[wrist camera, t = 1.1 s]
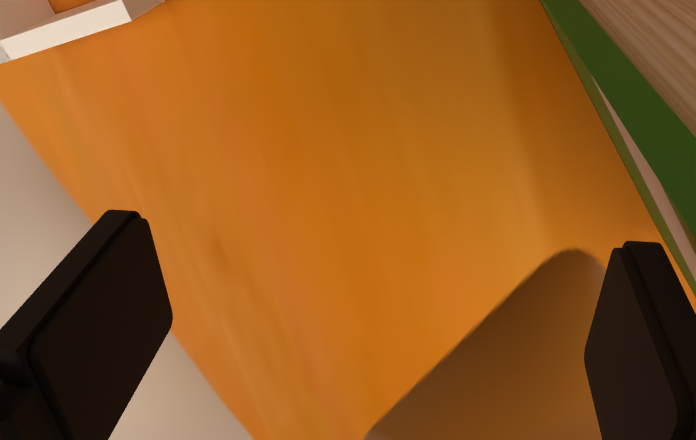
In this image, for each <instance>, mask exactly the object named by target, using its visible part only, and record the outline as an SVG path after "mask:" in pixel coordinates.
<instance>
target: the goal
mask: <svg viewBox="0 0 696 440" xmlns="http://www.w3.org/2000/svg"><path fill="white" fill-rule="evenodd" d="M164 1H166V0H96V1H93V2H90V3H87V4H84V5H81V6H78V7H76V8H73V9H70V10H67V11H64V12H61V13H58V14H55V12H54V11H53V9H52V7H51V5H50V3H49V2H48V0H0V64H1V63H4V62H7V61H10V60H14V59H17V58H20V57H23V56H26V55H29V54H32V53H35V52H38V51H41V50H44V49H47V48H50V47H53V46H57V45H60V44H63V43H66V42H69V41H72V40H75V39H78V38H81V37H84V36H87V35H90V34H93V33H96V32H100V31H103V30H106V29H109V28H112V27H115V26H118V25H121V24H124V23H127V22H130V21H133V20H134V19H136V18H138V17H139V16H141V15H142V14H144V13H146V12H147V11H149V10H151V9H152V8H154V7H156V6H157V5H159V4H161V3H162V2H164Z"/></svg>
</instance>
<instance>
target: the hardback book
mask: <svg viewBox="0 0 696 440" xmlns="http://www.w3.org/2000/svg"><path fill="white" fill-rule="evenodd" d="M540 2H541V4H542V6H543V8H544V10H545V12H546V14H547V16H548V18H549V20H550V22H551V23H552V25H553V27H554V29H555V31H556V33H557V35H558V37H559V39H560V41H561V43H562V45H563V47H564V49H565V51H566V52H567V54H568V56H569V58H570V60H571V62H572V64H573V66H574V68H575V70H576V72H577V74H578V76H579V78H580V80H581V82H582V83H583V85H584V87H585V89H586V91H587V93H588V95H589V97H590V99H591V101H592V103H593V105H594V107H595V109H596V111H597V112H598V114H599V116H600V118H601V120H602V122H603V124H604V126H605V128H606V130H607V132H608V134H609V136H610V138H611V140H612V142H613V143H614V145H615V147H616V149H617V151H618V153H619V155H620V157H621V159H622V161H623V163H624V165H625V167H626V169H627V171H628V172H629V174H630V176H631V178H632V180H633V182H634V184H635V186H636V188H637V190H638V192H639V194H640V196H641V198H642V200H643V202H644V203H645V205H646V207H647V209H648V211H649V213H650V215H651V217H652V219H653V221H654V223H655V225H656V227H657V229H658V231H659V232H660V234H661V236H662V238H663V240H664V241H665V243H666V245H667V247H668V249H669V250H670V252H671V254H672V256H673V257H674V259H675V261H676V263H677V265H678V266H679V268H680V270H681V272H682V274H683V275H684V277H685V279H686V281H687V283H688V284H689V286H690V288H691V290H692V292H693V293H694V295H695V297H696V0H540Z"/></svg>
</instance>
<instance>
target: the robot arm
mask: <svg viewBox="0 0 696 440" xmlns="http://www.w3.org/2000/svg"><path fill="white" fill-rule="evenodd" d="M172 320H173V314H172V309H171V305H170V301H169V298H168V294H167V290H166V286H165V283H164V279H163V275H162V271H161V268H160V264H159V260H158V256H157V253H156V249H155V245H154V241H153V238H152V234H151V230H150V226H149V223H148V221H147V220H146V219H144V218H141V216H140V214H139V213H138V212H136V211H126V210H108V211H107V212H105V213H104V214H103V215H102V217H101V218H100V219H99V220H98V221H97V222H96V223H95V224H94V225H93V227H92V228H91V229H90V230H89V231H88V232H87V233H86V235H85V236H84V237H83V238H82V239H81V240H80V241H79V242H78V243H77V244H76V246H75V247H74V248H73V249H72V250H71V251H70V253H69V254H68V255H67V256H66V257H65V258H64V259H63V260H62V261H61V262H60V263H59V265H58V266H57V267H56V268H55V269H54V270H53V271H52V272H51V274H50V275H49V276H48V277H47V278H46V279H45V280H44V281H43V282H42V284H41V285H40V286H39V287H38V288H37V289H36V290H35V291H34V293H33V294H32V295H31V296H30V297H29V298H28V299H27V300H26V302H25V303H24V304H23V305H22V306H21V307H20V308H19V309H18V310H17V312H16V313H15V314H14V315H13V316H12V317H11V318H10V319H9V320H8V322H7V323H6V324H5V325H4V326H3V327H2V328H1V329H0V440H108V439H109V437H110V435H111V433H112V431H113V430H114V428H115V426H116V424H117V423H118V421H119V419H120V417H121V416H122V414H123V412H124V410H125V408H126V407H127V405H128V403H129V401H130V400H131V398H132V396H133V394H134V392H135V391H136V389H137V387H138V385H139V384H140V382H141V380H142V378H143V376H144V375H145V373H146V371H147V369H148V367H149V366H150V364H151V362H152V360H153V359H154V357H155V355H156V353H157V351H158V350H159V348H160V346H161V344H162V342H163V341H164V339H165V337H166V335H167V334H168V332H169V330H170V328H171V325H172ZM584 361H585V368H586V373H587V377H588V381H589V385H590V389H591V393H592V398H593V402H594V406H595V411H596V415H597V419H598V423H599V427H600V432H601V435H602V440H696V314H695V312H694V310H693V308H692V306H691V304H690V302H689V300H688V298H687V296H686V294H685V292H684V289H683V287H682V285H681V283H680V281H679V279H678V277H677V275H676V273H675V271H674V269H673V267H672V265H671V263H670V261H669V259H668V257H667V255H666V253H665V251H664V248H663V247H662V245H661V244H660V243H656V242H639V241H626V242H625V243H624V245H623V247H622V248H614V249H613V250H612V253H611V256H610V260H609V263H608V267H607V271H606V274H605V278H604V282H603V285H602V289H601V292H600V296H599V300H598V303H597V307H596V310H595V314H594V318H593V322H592V325H591V328H590V332H589V336H588V340H587V343H586V347H585V354H584Z"/></svg>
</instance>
